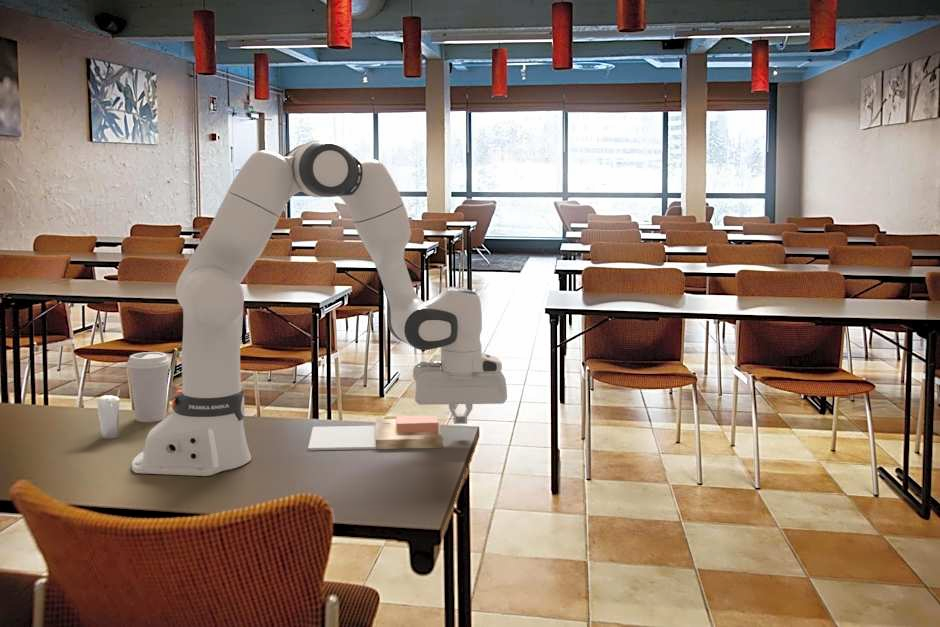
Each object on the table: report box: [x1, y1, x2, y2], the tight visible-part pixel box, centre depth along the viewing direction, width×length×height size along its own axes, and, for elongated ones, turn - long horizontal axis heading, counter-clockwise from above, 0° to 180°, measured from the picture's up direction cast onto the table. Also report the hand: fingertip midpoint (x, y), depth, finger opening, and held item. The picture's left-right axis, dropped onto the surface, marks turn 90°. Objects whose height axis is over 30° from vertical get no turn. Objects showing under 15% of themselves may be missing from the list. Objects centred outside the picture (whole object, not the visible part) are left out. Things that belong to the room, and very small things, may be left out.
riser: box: [375, 418, 443, 450], centre depth 199 cm, size 14×16×2 cm
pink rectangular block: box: [395, 415, 440, 433], centre depth 199 cm, size 9×6×2 cm, turn 96°
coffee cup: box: [126, 351, 171, 423], centre depth 210 cm, size 10×10×15 cm
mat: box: [307, 425, 377, 451], centre depth 198 cm, size 14×16×1 cm
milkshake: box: [96, 388, 121, 440], centre depth 196 cm, size 5×5×10 cm
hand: (460, 423), depth 200 cm, fingers closed
